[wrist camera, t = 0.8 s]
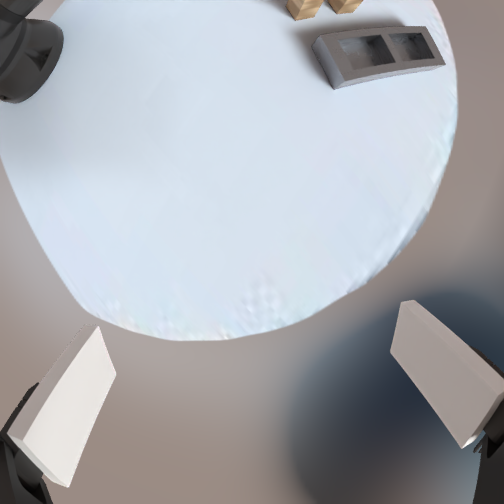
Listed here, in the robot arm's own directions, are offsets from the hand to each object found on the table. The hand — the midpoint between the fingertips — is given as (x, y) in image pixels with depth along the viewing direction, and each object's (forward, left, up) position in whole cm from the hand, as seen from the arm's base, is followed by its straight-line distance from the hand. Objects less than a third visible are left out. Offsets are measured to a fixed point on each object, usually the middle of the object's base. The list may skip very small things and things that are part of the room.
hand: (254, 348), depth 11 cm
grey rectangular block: (-16, +29, -25) cm, 42 cm away
